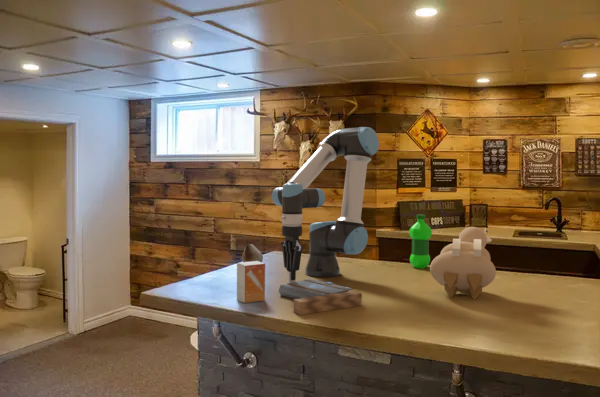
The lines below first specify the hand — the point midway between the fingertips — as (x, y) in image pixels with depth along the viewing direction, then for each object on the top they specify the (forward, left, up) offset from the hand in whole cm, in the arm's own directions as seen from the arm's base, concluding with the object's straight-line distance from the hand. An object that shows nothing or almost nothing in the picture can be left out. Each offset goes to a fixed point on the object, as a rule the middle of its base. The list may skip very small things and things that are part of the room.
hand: (291, 288), depth 182 cm
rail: (0, +25, -2) cm, 25 cm away
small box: (+18, +3, -2) cm, 18 cm away
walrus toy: (-52, +34, -2) cm, 62 cm away
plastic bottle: (-77, -14, -2) cm, 78 cm away
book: (-4, +11, -2) cm, 12 cm away
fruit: (-6, -49, -2) cm, 49 cm away
